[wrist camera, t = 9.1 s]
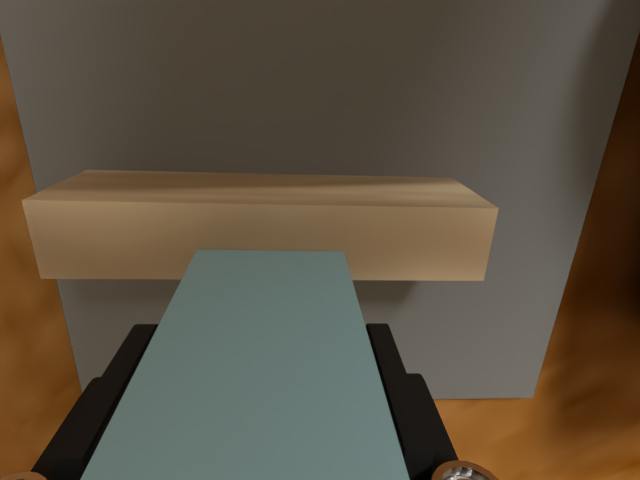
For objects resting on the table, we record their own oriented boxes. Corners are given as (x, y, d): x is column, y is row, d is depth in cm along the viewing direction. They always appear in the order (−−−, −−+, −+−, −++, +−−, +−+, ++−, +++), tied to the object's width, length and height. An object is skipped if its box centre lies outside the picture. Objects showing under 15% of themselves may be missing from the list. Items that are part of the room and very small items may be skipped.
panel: (-6, -43, 13) (-19, -48, 13) (638, -8, 15) (651, -11, 14) (90, 395, 20) (84, 404, 19) (526, 389, 22) (532, 397, 21)
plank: (86, 169, 15) (21, 199, 12) (452, 177, 16) (498, 208, 13) (97, 232, 16) (40, 278, 13) (442, 236, 17) (483, 280, 14)
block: (196, 249, 12) (15, 608, 4) (344, 251, 13) (440, 586, 5) (206, 367, 14) (90, 786, 6) (335, 366, 15) (394, 760, 6)
